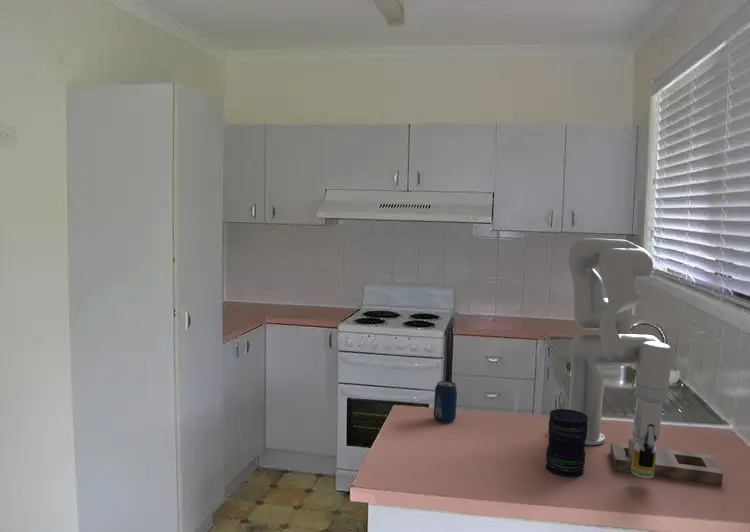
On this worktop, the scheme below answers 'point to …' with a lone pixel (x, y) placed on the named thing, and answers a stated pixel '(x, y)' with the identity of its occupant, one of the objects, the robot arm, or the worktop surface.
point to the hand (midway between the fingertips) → (643, 460)
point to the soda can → (445, 402)
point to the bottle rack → (673, 464)
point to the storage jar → (566, 443)
